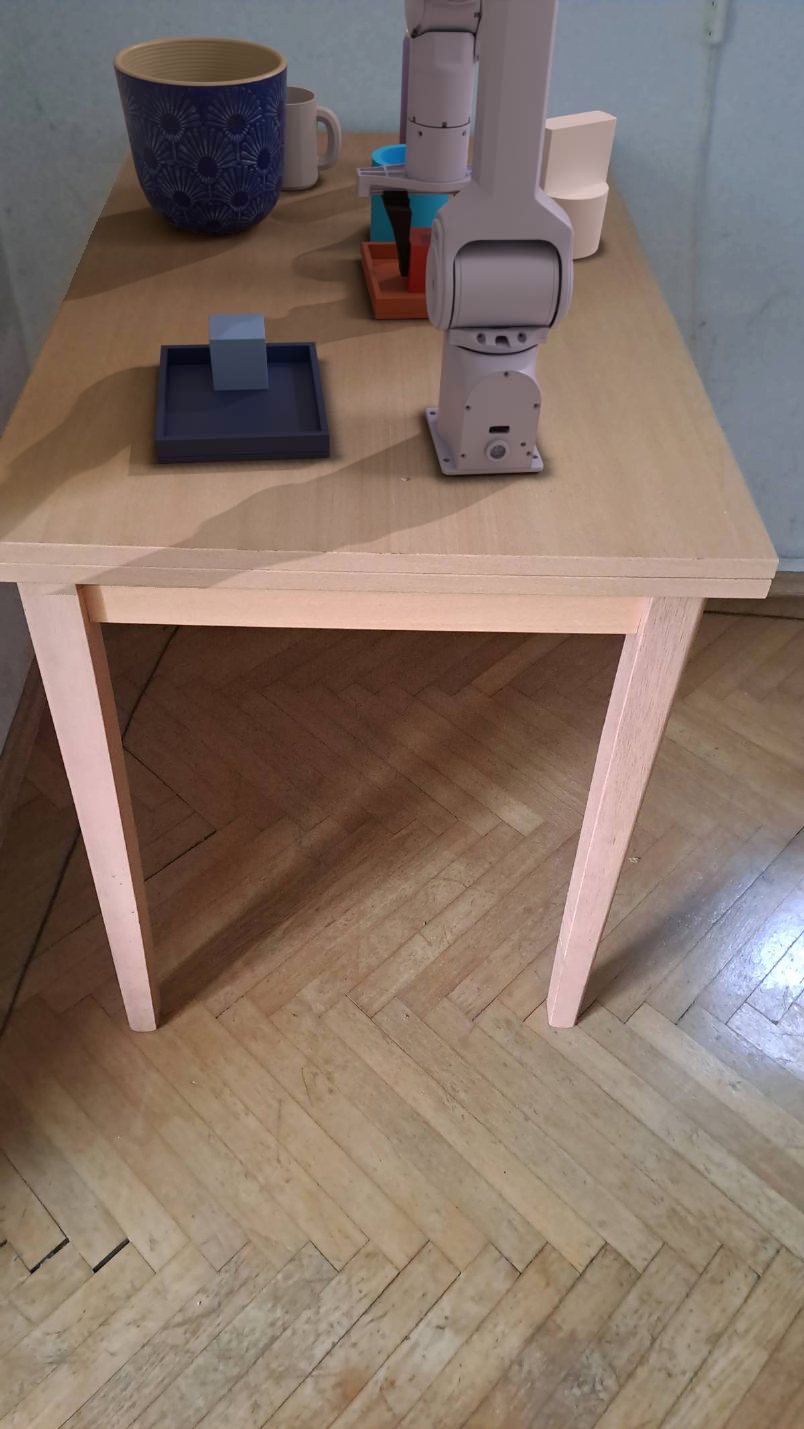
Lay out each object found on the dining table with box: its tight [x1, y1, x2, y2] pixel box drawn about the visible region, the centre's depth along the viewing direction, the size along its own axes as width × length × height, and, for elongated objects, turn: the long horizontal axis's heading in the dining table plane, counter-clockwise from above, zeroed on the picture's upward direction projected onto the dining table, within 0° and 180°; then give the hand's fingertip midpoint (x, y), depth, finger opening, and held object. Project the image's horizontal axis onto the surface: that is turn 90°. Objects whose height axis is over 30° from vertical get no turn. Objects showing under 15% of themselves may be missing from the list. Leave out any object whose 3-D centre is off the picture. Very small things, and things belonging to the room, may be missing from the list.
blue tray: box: [153, 341, 331, 464], centre depth 81 cm, size 15×13×2 cm
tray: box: [360, 241, 429, 320], centre depth 98 cm, size 13×12×2 cm
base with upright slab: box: [539, 109, 618, 260], centre depth 104 cm, size 9×9×12 cm
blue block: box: [208, 313, 268, 391], centre depth 83 cm, size 4×4×4 cm
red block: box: [404, 227, 432, 293], centre depth 97 cm, size 4×4×4 cm
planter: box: [112, 35, 288, 236], centre depth 103 cm, size 17×17×15 cm
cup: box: [281, 85, 343, 191], centre depth 115 cm, size 7×10×9 cm
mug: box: [369, 143, 450, 242], centre depth 106 cm, size 12×8×8 cm
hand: (429, 272), depth 98 cm, fingers closed on red block, 4 cm apart
